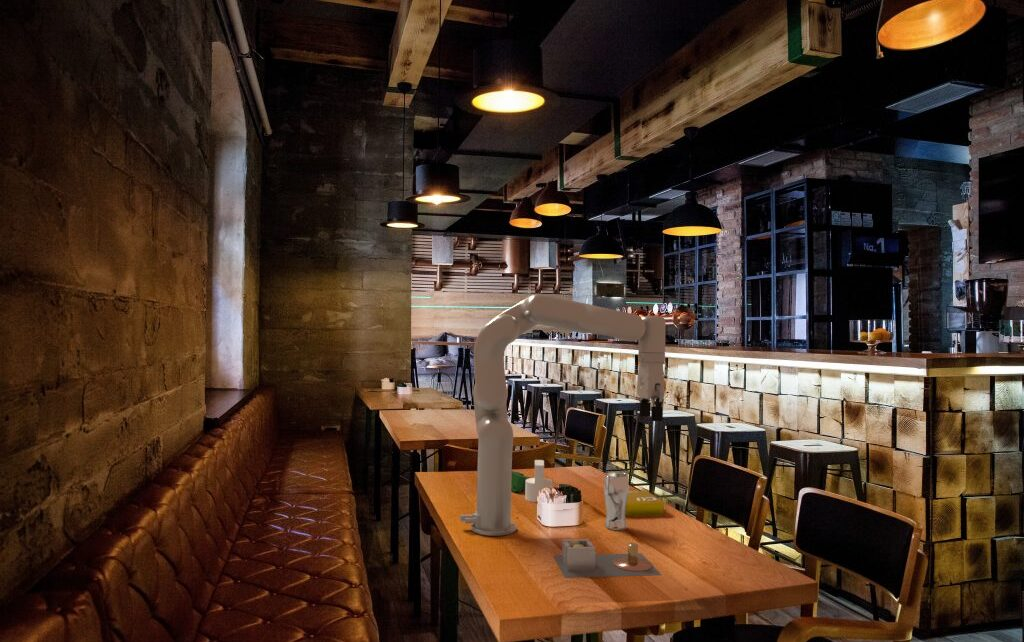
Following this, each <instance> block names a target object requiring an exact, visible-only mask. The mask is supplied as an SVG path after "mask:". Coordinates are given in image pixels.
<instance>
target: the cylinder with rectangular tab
mask: <svg viewBox="0 0 1024 642" xmlns="http://www.w3.org/2000/svg"><path fill="white" fill-rule="evenodd" d="M553 483H554V482H553V480H552V479H549V478H546V477H545V460H543V459H534V477H530V478H529V479H526V481H525V490H524V493H525V494H524V498H525V500H526V501H527V500H528V502H530V501H531V503H537V502H536V500H537V495H538V491H539V490H540V489H542V488H545V487H550V488H554V487H553V486H554V485H553Z"/></svg>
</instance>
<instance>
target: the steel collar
mask: <svg viewBox="0 0 1024 642" xmlns="http://www.w3.org/2000/svg"><path fill="white" fill-rule="evenodd" d="M575 544H580V545H583V546H584V547H573V545H575ZM595 554H596V547H595V546H594V544H593V543H592V541H591V540H590V539H589V538H579V539H577V538H574V539H573V538H569V539H561V555H562V562H563V564H564V566H565V568H566V570H567V571H588V570H595Z"/></svg>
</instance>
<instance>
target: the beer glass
mask: <svg viewBox="0 0 1024 642" xmlns="http://www.w3.org/2000/svg"><path fill="white" fill-rule="evenodd" d="M603 484H604V485H603V486H604V487H603V495H604V502H605V503H604V504H606V505H605V509H606V511H605V512H606V517H605V521H604V522H605V523H604V527H605V529H608V530H612V531H625V530H626V529H627V521H626V517H625V512H626V507H627V501H628V495H629V491H630V490H629V489H630V487H629V486H630V485H629V474H628V473H625V472H621V471H619V472H618V471H610V472H605V473H604V483H603Z"/></svg>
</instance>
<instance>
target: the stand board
mask: <svg viewBox="0 0 1024 642" xmlns="http://www.w3.org/2000/svg"><path fill="white" fill-rule="evenodd" d="M573 547H584V546H583V545H580V544H575V545H573ZM619 557H628V553H605V554H603V553H601V554H597V553H595V570H588V571H567V570H566V568H565V566H564V564H563V562H562V554H559V555H558V554H557V555H556V554H555V555H553V558H554V560H555V561H556V564H557V566H558V568H559V569H560V571H561V573H562V575H563V577H564V579H570V578H571V579H572V578H573V579H574V578H575V579H577V578H578V579H579V578H603V577H604V578H605V577H606V578H607V577H609V578H610V577H611V578H612V577H644V576H650V577H651V576H662V573H660V572H659V570H658V569H657V568H656V567H655V565H653V564H652V568H651V569H649V570H646V571H628V570H623V569H620V568H618V567H616V566H615V565H614V564H613V561H614V559H616V558H619ZM638 558H643V559H646V560H648V559H647V557H646V556H645V555H644V554H643V553H642V552H641V553H639V552H638Z"/></svg>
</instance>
